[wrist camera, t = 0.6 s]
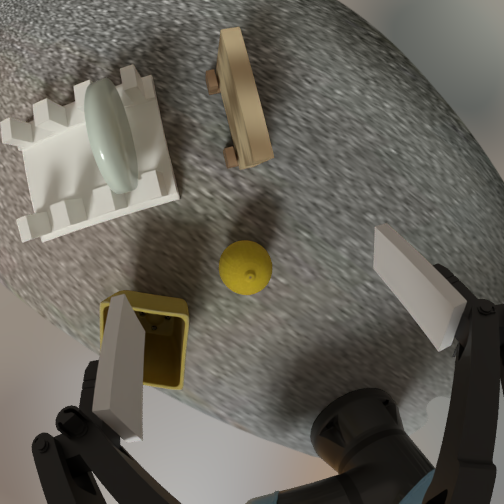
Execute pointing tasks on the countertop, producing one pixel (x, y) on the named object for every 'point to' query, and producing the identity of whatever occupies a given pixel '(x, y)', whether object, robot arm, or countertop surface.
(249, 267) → the lemon
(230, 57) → the bamboo board
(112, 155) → the sage plate
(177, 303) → the flower pot
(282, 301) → the countertop surface
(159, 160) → the dish rack
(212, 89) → the board stand
